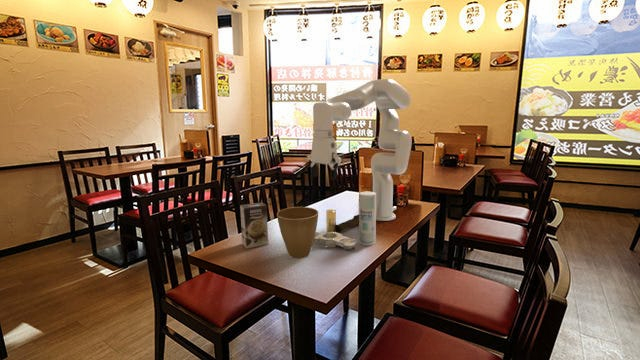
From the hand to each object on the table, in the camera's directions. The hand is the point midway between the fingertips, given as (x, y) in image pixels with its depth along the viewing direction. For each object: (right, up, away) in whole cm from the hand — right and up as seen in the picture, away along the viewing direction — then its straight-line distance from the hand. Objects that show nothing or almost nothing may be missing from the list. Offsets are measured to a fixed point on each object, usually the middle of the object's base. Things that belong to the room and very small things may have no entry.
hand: (324, 178), depth 140 cm
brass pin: (+3, -24, +10) cm, 26 cm away
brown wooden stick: (+12, -22, +18) cm, 31 cm away
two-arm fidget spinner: (+2, -26, -1) cm, 26 cm away
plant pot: (-9, -28, -11) cm, 32 cm away
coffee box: (-27, -27, 0) cm, 38 cm away
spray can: (+17, -26, -1) cm, 31 cm away
